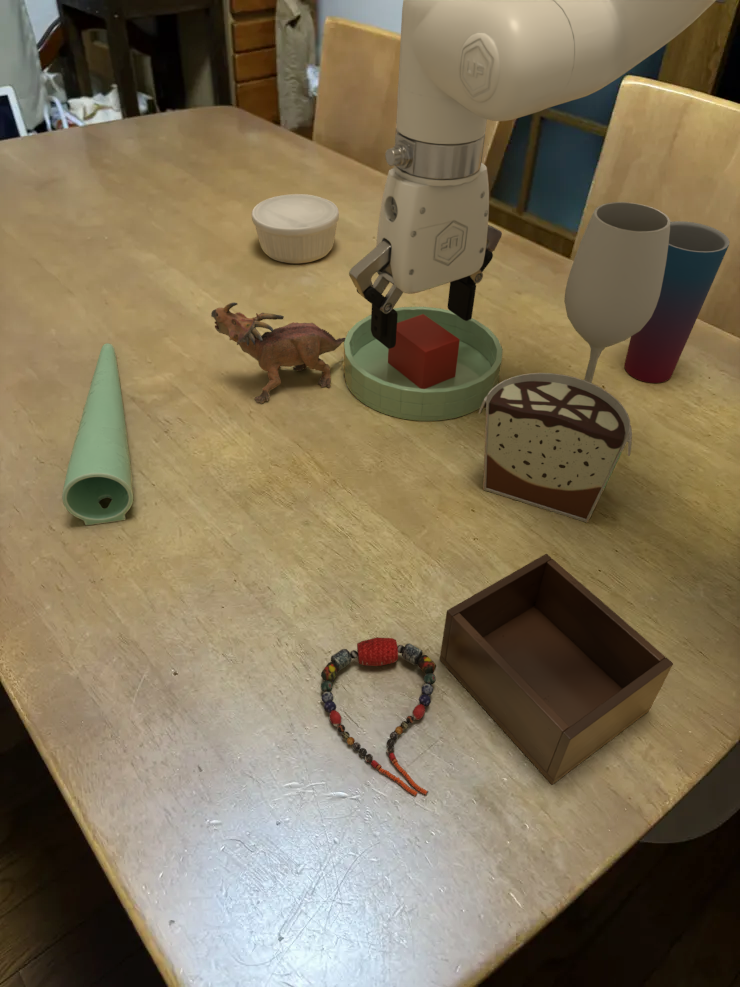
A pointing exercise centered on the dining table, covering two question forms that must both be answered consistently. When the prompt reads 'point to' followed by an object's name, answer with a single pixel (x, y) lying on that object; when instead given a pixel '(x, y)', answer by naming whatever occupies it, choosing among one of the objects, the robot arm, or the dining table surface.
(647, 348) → the cup
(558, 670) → the box
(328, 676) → the necklace
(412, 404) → the bowl
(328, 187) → the dining table surface
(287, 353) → the dinosaur figurine
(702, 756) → the dining table surface
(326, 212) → the ramekin
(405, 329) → the block
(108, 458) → the mint green cone
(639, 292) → the wineglass
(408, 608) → the dining table surface
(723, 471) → the dining table surface
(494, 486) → the cake cutout
